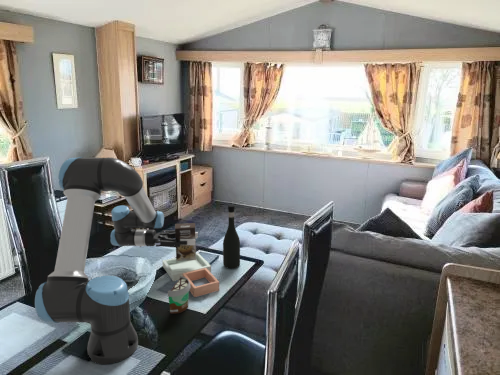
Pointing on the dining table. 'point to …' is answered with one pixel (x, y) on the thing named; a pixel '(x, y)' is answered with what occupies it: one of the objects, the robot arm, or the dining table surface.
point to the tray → (184, 266)
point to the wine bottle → (231, 243)
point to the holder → (205, 288)
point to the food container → (179, 296)
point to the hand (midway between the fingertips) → (196, 238)
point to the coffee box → (185, 233)
